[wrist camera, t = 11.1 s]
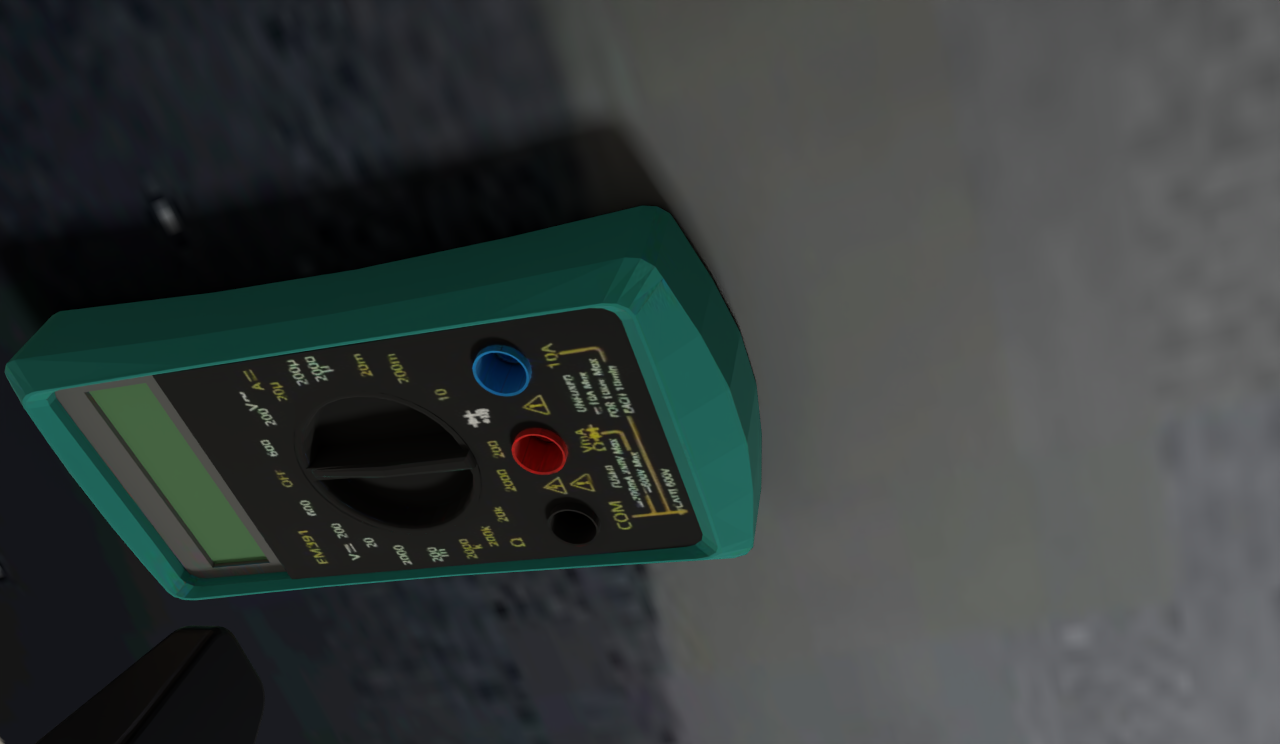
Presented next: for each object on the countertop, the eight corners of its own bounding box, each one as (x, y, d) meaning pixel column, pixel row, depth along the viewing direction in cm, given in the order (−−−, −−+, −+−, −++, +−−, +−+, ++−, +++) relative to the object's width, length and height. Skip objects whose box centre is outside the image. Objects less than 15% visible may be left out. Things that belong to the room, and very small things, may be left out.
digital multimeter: (793, 477, 25) (781, 582, 23) (216, 534, 30) (159, 625, 28) (702, 177, 21) (676, 269, 19) (50, 298, 26) (-33, 383, 23)
